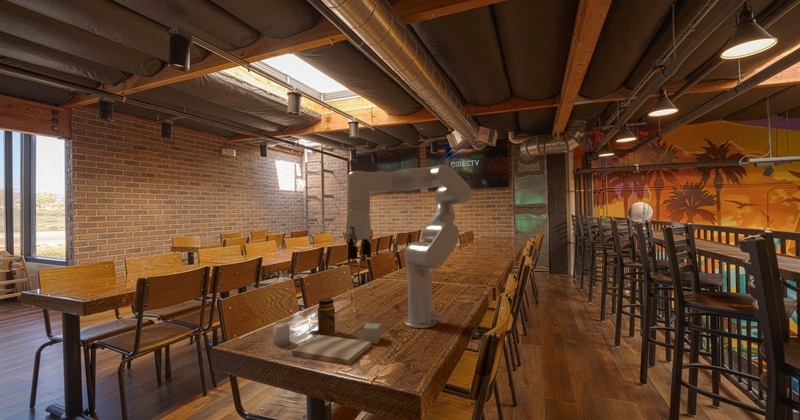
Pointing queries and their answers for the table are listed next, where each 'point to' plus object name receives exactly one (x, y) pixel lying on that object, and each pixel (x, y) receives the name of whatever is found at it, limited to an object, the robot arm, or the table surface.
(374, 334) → the sage block
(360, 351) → the maple board
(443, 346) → the table surface
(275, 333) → the pale stubby cylinder
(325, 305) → the condiment
